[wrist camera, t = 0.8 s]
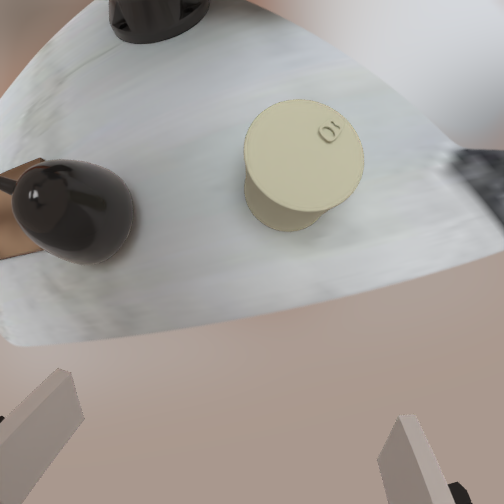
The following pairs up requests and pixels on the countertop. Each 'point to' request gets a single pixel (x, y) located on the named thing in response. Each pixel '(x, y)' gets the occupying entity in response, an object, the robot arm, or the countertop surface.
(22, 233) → the walnut board
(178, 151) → the countertop surface
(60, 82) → the countertop surface
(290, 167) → the can
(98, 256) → the pump dispenser
